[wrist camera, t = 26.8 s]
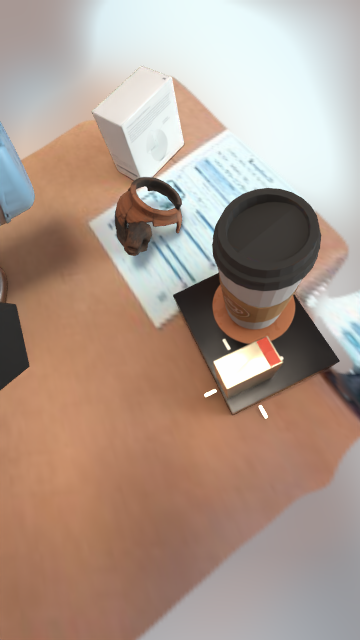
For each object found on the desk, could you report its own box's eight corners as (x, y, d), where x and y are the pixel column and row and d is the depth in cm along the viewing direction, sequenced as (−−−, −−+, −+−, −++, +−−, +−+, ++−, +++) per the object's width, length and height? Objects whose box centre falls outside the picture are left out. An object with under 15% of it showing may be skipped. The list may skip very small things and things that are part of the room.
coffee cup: (203, 304, 38) (188, 228, 24) (253, 262, 39) (267, 165, 25) (252, 353, 35) (267, 300, 21) (305, 307, 36) (353, 226, 22)
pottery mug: (118, 209, 49) (129, 162, 43) (174, 230, 51) (193, 188, 45) (98, 263, 42) (107, 217, 36) (163, 284, 44) (183, 245, 38)
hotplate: (163, 308, 41) (159, 300, 39) (262, 260, 42) (264, 249, 39) (225, 438, 35) (225, 438, 32) (342, 380, 35) (351, 376, 33)
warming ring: (199, 291, 39) (199, 290, 39) (267, 258, 39) (268, 257, 39) (236, 358, 35) (236, 358, 35) (311, 321, 35) (311, 320, 35)
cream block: (227, 399, 34) (226, 389, 27) (216, 375, 35) (212, 360, 28) (272, 377, 34) (284, 361, 27) (259, 354, 35) (267, 334, 28)
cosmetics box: (156, 130, 53) (140, 62, 44) (185, 144, 51) (174, 76, 41) (115, 170, 52) (88, 109, 42) (143, 187, 49) (121, 126, 40)
